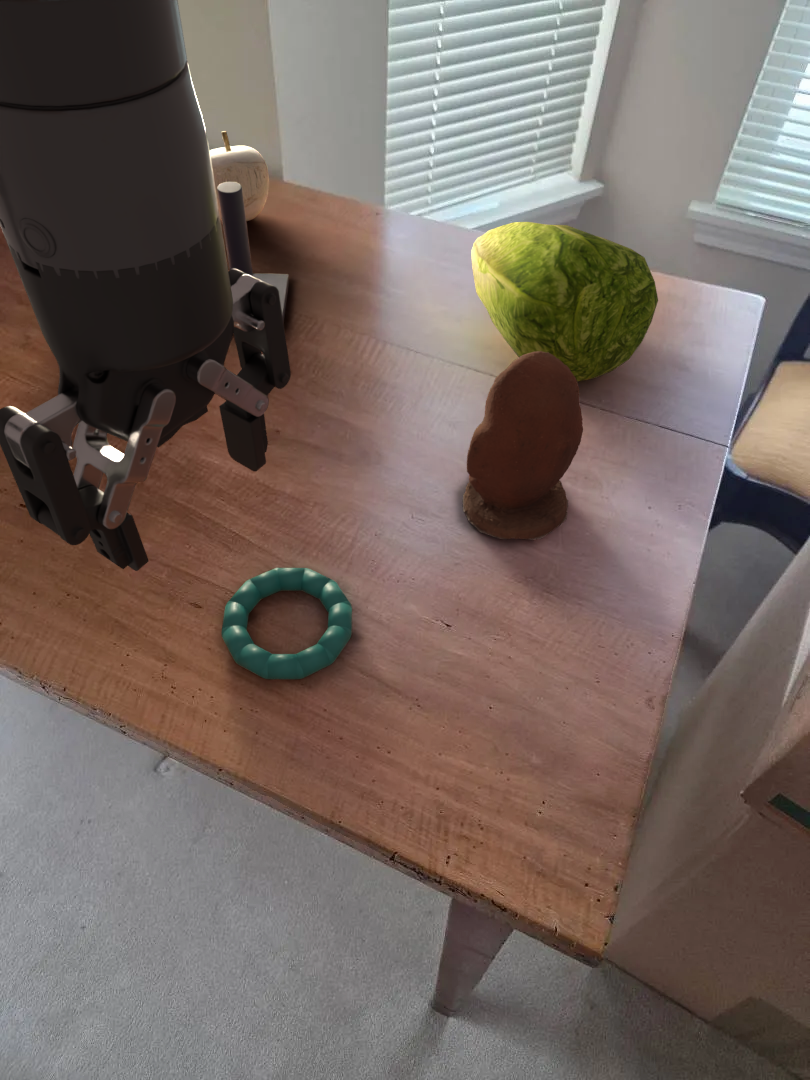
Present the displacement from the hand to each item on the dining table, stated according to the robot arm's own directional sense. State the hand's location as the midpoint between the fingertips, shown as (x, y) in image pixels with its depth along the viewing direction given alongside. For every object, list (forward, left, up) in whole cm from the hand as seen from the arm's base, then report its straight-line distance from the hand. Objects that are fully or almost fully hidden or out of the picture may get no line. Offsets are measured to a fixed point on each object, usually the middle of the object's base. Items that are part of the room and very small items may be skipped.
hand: (192, 508), depth 39 cm
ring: (+3, +5, -18) cm, 19 cm away
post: (-5, +48, -19) cm, 51 cm away
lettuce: (+27, +43, -19) cm, 54 cm away
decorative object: (-8, +67, -19) cm, 70 cm away
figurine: (+22, +18, -19) cm, 34 cm away
